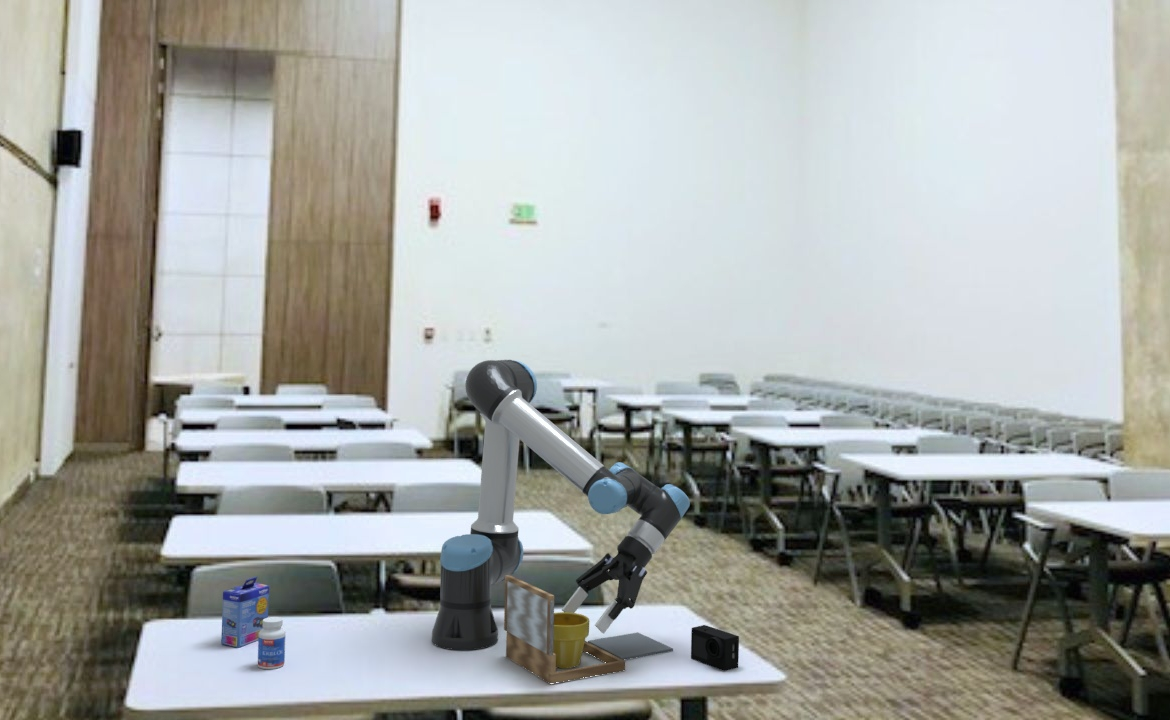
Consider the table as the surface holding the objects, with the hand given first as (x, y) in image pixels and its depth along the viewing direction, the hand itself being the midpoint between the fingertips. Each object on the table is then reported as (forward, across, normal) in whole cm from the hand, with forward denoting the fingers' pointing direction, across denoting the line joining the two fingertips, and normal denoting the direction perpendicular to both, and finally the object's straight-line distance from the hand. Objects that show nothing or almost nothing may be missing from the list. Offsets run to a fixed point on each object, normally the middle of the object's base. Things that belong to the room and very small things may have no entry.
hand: (581, 621), depth 211 cm
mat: (-5, +4, -17) cm, 18 cm away
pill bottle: (+47, +30, +35) cm, 66 cm away
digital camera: (-11, -14, -24) cm, 30 cm away
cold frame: (+9, +1, -4) cm, 10 cm away
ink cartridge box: (+48, +50, +36) cm, 78 cm away
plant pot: (+9, +1, -4) cm, 10 cm away
